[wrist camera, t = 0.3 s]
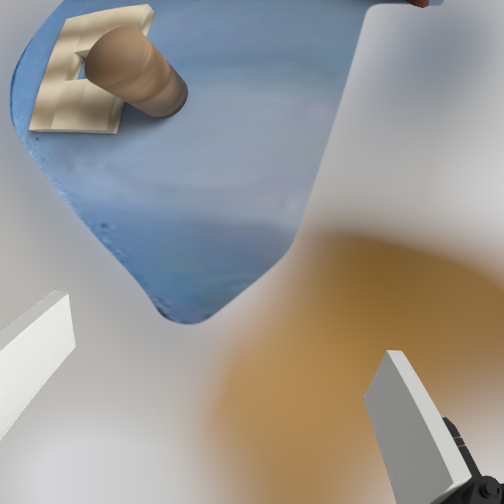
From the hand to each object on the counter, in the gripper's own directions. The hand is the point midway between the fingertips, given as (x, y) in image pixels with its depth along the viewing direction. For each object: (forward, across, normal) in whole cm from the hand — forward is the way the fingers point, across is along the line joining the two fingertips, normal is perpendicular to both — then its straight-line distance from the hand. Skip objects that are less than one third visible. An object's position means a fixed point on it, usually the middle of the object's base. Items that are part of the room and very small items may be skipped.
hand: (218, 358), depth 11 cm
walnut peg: (+28, -13, +13) cm, 34 cm away
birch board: (+30, -27, +19) cm, 45 cm away
